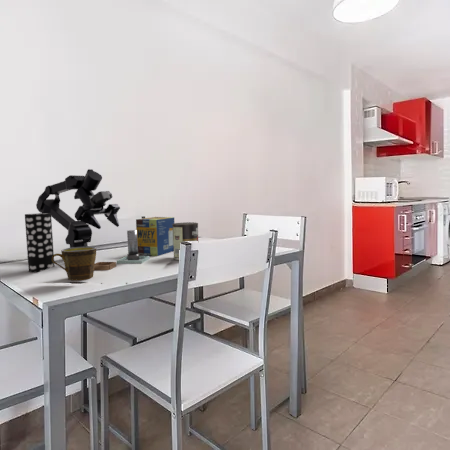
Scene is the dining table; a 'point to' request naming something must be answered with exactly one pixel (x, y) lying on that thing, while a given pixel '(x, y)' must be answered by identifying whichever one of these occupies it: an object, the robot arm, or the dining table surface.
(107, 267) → the socket block
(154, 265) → the dining table surface
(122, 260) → the tray
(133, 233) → the grey cylinder
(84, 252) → the ceramic cup
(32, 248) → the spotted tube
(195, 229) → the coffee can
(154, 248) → the protein box
